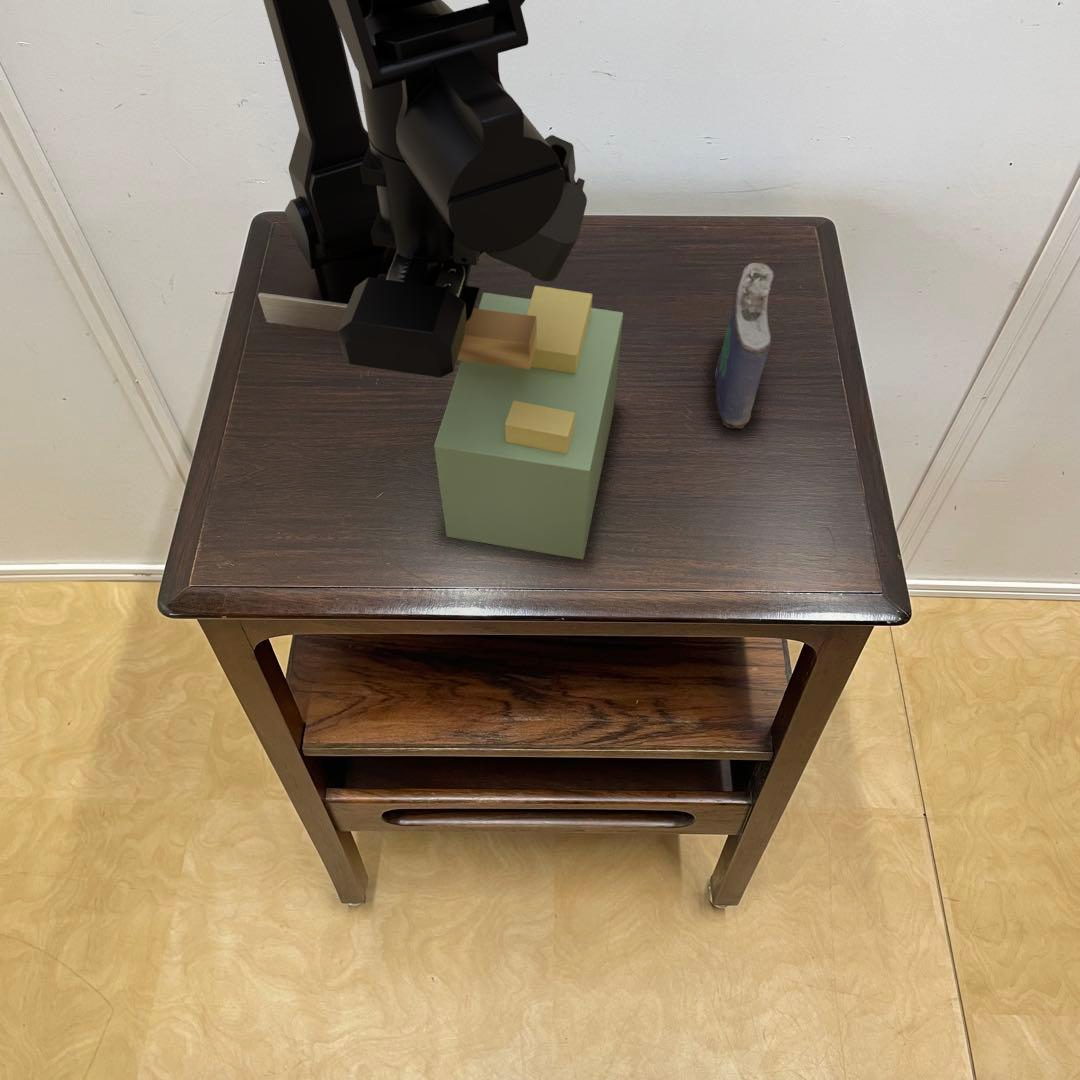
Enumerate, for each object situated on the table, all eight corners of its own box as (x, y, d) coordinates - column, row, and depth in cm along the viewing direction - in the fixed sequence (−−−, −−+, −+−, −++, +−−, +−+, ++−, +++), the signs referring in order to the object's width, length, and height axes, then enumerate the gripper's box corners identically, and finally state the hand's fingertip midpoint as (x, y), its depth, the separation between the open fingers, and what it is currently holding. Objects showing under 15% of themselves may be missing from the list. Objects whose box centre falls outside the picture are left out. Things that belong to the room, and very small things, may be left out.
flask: (749, 432, 77) (777, 332, 68) (711, 427, 77) (734, 327, 68) (753, 345, 82) (779, 242, 73) (717, 341, 82) (739, 238, 73)
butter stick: (517, 365, 67) (516, 346, 65) (535, 304, 70) (535, 285, 68) (576, 374, 66) (577, 355, 65) (591, 312, 69) (592, 293, 68)
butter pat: (505, 442, 63) (504, 424, 61) (513, 418, 64) (513, 400, 63) (567, 454, 62) (567, 436, 61) (574, 430, 64) (575, 412, 62)
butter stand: (446, 537, 72) (433, 445, 63) (489, 391, 79) (483, 292, 70) (583, 560, 71) (590, 470, 62) (613, 411, 78) (623, 311, 69)
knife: (537, 342, 65) (536, 315, 63) (529, 369, 64) (529, 343, 62) (273, 308, 67) (264, 281, 65) (261, 334, 66) (252, 307, 64)
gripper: (544, 274, 46) (541, 474, 59) (604, 43, 56) (591, 259, 69) (310, 242, 47) (359, 446, 60) (410, 21, 57) (434, 238, 70)
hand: (445, 341), depth 65 cm, fingers closed on knife, 2 cm apart
